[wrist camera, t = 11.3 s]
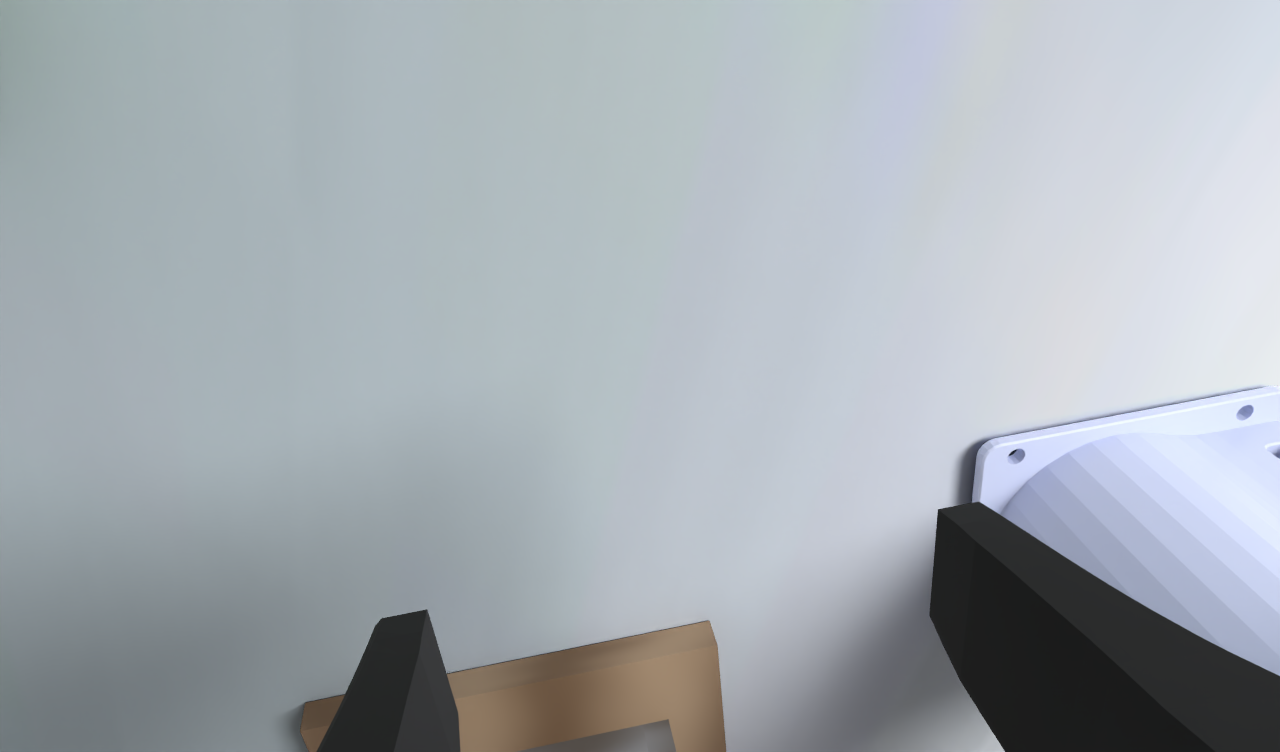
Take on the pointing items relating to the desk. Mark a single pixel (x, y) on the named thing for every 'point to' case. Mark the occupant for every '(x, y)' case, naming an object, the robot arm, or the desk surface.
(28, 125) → the desk surface
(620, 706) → the board
